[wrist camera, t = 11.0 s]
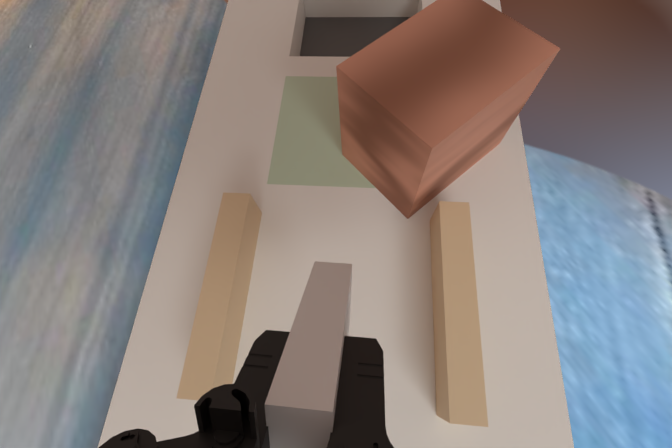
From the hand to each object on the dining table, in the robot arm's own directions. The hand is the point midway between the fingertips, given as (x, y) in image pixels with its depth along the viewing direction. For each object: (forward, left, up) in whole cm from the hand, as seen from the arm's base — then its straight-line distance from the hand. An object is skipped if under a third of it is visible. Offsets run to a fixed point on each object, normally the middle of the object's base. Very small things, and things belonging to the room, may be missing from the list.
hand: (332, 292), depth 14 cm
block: (-5, -10, -5) cm, 12 cm away
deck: (0, -7, -8) cm, 11 cm away
